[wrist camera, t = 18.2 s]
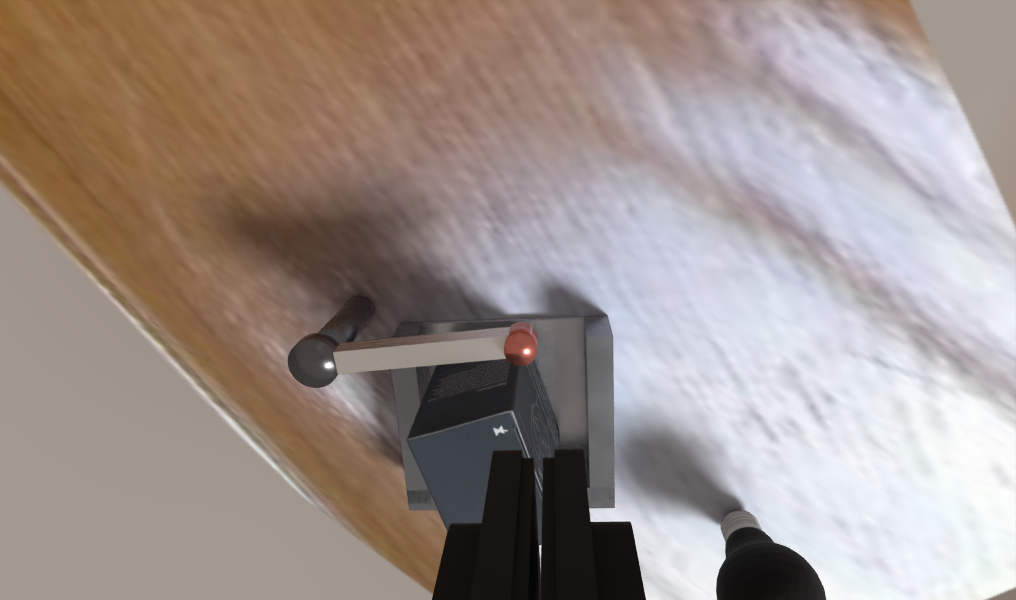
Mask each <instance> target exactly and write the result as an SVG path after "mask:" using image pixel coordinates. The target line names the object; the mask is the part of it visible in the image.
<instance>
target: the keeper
mask: <svg viewBox="0 0 1016 600" xmlns="http://www.w3.org/2000/svg"><path fill="white" fill-rule="evenodd" d="M373 315H374V306H373V304H372V302H371V301H370V300H369V299H368V298H366V297H363V296H355V297H352V298H351V299H350V300H349V301H348V302H347V303H346V304H345V305H344V306H343V307H342V308H341V309H340V310H339V311H338V312H337V314H336V315H335V316H334V317H333V318H332V319H331V320H330V321H329V322H328V323H327V324H326V325H325V326H324V327H323V328H322V329H321V330H320V331H319V334H325V335H328V336H330V337H331V338H333V339H334V340H336V341H337V342H338V344H340V343H346V342H354V340H355V339H356V338H357V337H358V335H359V334H360V333H361V331H362V330H363V329H364V327H365V326H366V325H367V324H368V322H369V321H370V320H371V318H372V317H373ZM518 322H526V323H529V324H530V325H532V326H533V327H534V328H535V329H536V331H537V335H538V342H537V355H536V357H535V359H534V361H535V364H536V366H537V369H538V372H539V374H540V377H541V380H542V383H543V386H544V388H545V391H546V394H547V397H548V399H549V402H550V405H551V408H552V411H553V414H554V416H555V419H556V422H557V425H558V428H559V433H560V437H559V438H560V449H583V450H584V460H585V470H586V481H587V491H588V502H589V508H615V496H614V381H613V334H612V330H611V326H610V323H609V319H608V315H604V316H576V317H548V318H520V319H492V320H464V321H436V322H408V323H401V324H400V325H399V327H398V328H397V330H396V331H395V333H394V335H393V336H392V338H398V337H409V336H419V335H430V334H440V333H450V332H461V331H471V330H481V329H492V328H502V327H510V326H511V325H513V324H515V323H518ZM435 368H436V365H432V366H421V367H410V368H399V369H391V374H392V382H393V389H394V397H395V405H396V412H397V420H398V428H399V435H400V443H401V451H402V458H403V466H404V473H405V481H406V489H407V496H408V504H409V510H438V509H437V507H436V505H435V503H434V501H433V498H432V496H431V494H430V492H429V490H428V487H427V485H426V483H425V481H424V478H423V476H422V474H421V472H420V470H419V467H418V465H417V463H416V461H415V459H414V457H413V454H412V452H411V450H410V448H409V446H408V444H407V440H406V439H407V437H408V435H409V433H410V429H411V427H412V425H413V422H414V420H415V417H416V414H417V412H418V409H419V407H420V405H421V402H422V400H423V397H424V395H425V392H426V390H427V387H428V385H429V382H430V380H431V377H432V375H433V373H434V370H435Z"/></svg>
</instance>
